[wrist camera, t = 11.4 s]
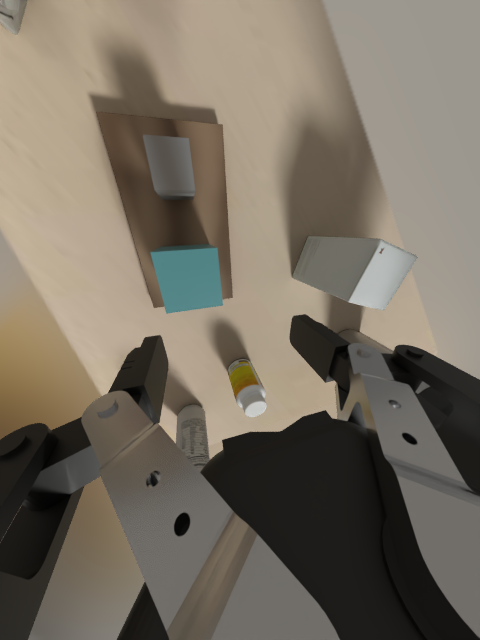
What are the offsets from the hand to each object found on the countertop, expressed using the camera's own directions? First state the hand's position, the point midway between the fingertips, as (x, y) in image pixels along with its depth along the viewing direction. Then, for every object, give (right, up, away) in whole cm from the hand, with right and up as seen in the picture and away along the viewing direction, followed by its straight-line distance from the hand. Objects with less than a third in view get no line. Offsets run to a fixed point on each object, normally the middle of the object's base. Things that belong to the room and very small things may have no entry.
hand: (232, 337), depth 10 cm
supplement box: (+14, +12, +21) cm, 28 cm away
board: (-7, +13, +13) cm, 20 cm away
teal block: (-7, +8, +14) cm, 17 cm away
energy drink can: (-11, -20, +29) cm, 37 cm away
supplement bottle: (0, -9, +27) cm, 29 cm away
